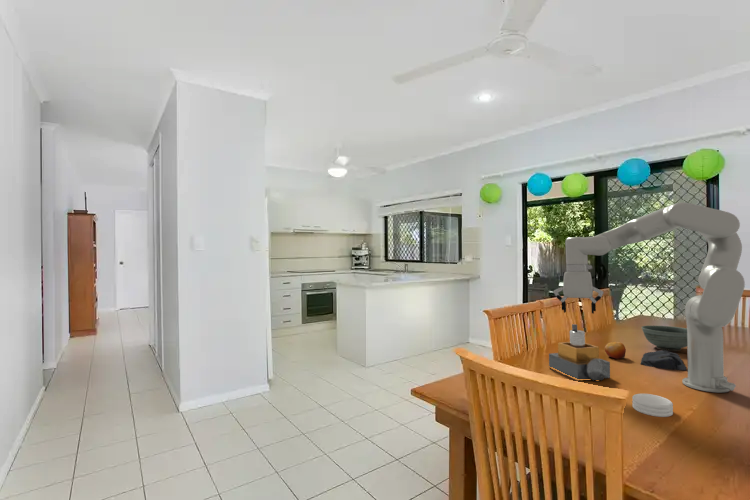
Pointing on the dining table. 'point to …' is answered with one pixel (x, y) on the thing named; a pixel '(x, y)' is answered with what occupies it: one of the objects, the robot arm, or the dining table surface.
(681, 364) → the dark slate chunk
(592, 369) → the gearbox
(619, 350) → the fruit
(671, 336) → the bowl
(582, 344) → the spout can
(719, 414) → the dining table surface
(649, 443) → the dining table surface
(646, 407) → the coaster
